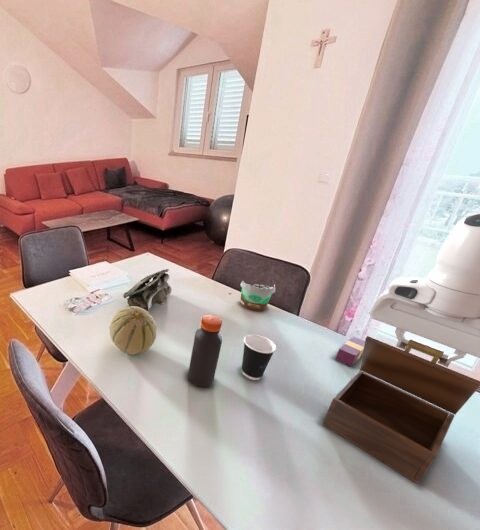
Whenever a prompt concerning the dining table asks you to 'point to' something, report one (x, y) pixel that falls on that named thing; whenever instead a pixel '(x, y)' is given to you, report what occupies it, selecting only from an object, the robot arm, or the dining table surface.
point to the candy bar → (351, 351)
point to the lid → (418, 373)
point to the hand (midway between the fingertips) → (420, 355)
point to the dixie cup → (256, 355)
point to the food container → (255, 296)
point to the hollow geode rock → (150, 291)
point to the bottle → (205, 351)
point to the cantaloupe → (133, 330)
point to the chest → (389, 424)
